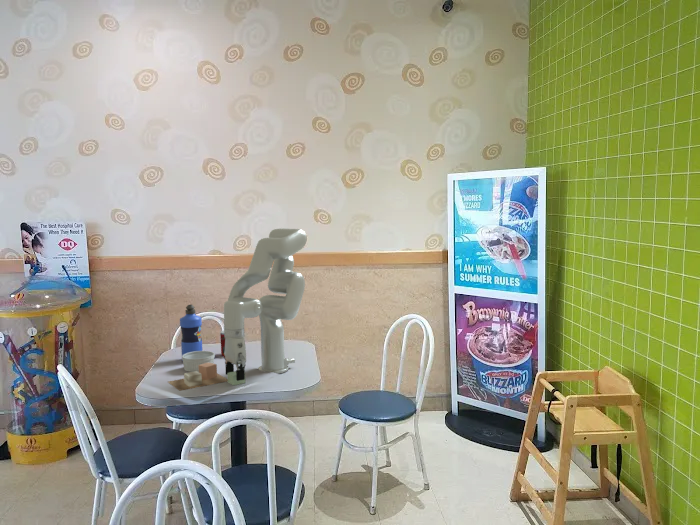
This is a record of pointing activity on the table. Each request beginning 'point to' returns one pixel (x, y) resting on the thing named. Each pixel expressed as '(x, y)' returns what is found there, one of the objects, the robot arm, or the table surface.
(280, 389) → the table surface
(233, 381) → the green block
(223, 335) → the canned food
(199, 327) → the water bottle
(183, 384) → the build board
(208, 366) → the terracotta block
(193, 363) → the ramekin
